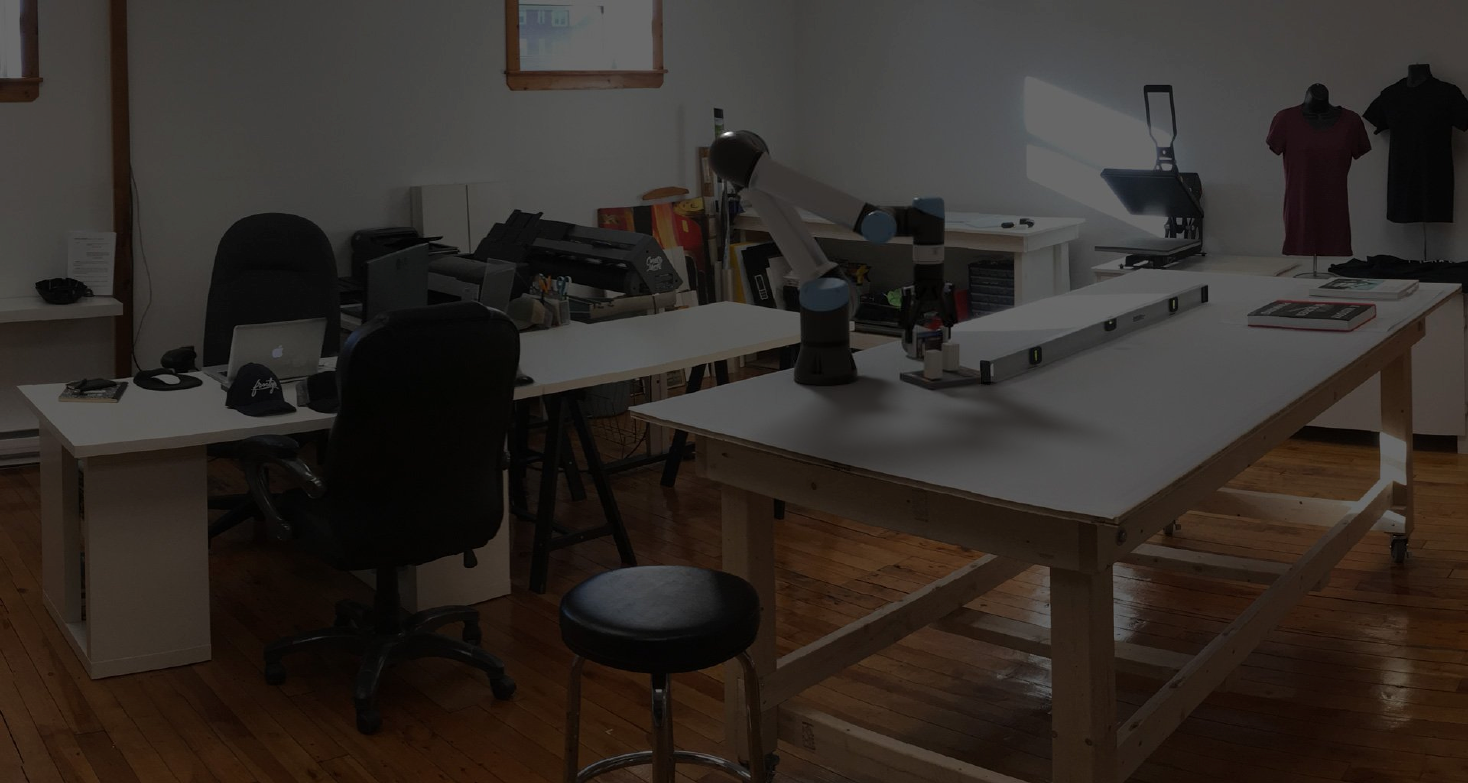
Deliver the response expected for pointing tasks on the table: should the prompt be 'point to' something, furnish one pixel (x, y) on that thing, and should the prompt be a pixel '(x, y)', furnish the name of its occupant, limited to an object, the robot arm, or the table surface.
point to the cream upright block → (933, 364)
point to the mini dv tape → (928, 342)
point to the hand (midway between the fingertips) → (928, 354)
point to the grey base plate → (944, 378)
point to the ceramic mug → (918, 330)
